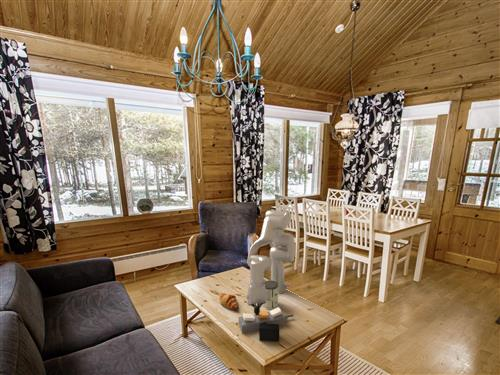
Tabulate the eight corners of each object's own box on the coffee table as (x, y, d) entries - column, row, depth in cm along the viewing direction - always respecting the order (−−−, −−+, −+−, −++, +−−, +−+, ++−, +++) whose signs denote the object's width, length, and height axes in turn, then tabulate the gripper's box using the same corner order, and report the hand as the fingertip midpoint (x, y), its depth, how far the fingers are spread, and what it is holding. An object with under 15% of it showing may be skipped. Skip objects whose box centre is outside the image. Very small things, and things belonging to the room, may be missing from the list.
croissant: (217, 302, 168) (212, 294, 165) (228, 292, 172) (223, 283, 170) (233, 317, 150) (227, 308, 148) (245, 305, 155) (240, 296, 152)
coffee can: (264, 299, 165) (264, 279, 164) (279, 301, 162) (279, 281, 160) (260, 307, 155) (260, 286, 154) (276, 310, 152) (276, 289, 151)
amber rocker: (266, 313, 142) (266, 310, 141) (268, 317, 138) (268, 315, 138) (256, 314, 140) (256, 311, 140) (258, 318, 136) (258, 315, 136)
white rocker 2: (279, 309, 144) (278, 307, 143) (281, 313, 140) (281, 311, 140) (269, 313, 142) (269, 311, 142) (272, 317, 138) (271, 315, 138)
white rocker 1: (252, 316, 139) (253, 314, 139) (254, 321, 136) (255, 318, 136) (242, 316, 138) (243, 313, 138) (244, 320, 134) (245, 317, 134)
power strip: (289, 314, 148) (289, 307, 148) (295, 322, 140) (295, 315, 140) (238, 323, 140) (238, 316, 139) (241, 333, 132) (241, 325, 132)
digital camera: (279, 334, 131) (279, 322, 130) (279, 342, 125) (279, 329, 125) (259, 333, 132) (259, 321, 131) (259, 341, 126) (259, 328, 126)
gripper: (267, 278, 142) (267, 308, 143) (242, 281, 138) (242, 312, 139) (272, 283, 134) (271, 316, 136) (245, 287, 131) (245, 320, 132)
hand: (256, 314), depth 137 cm, fingers closed
